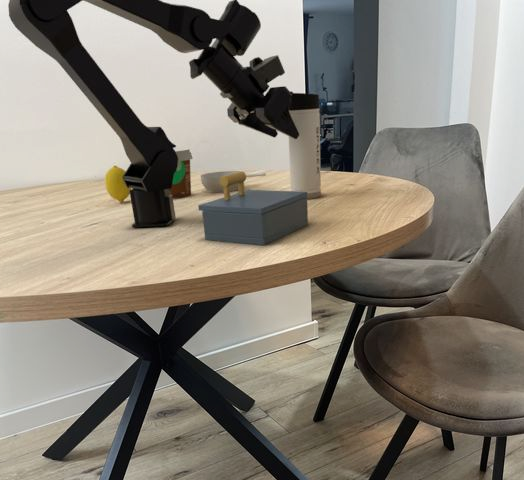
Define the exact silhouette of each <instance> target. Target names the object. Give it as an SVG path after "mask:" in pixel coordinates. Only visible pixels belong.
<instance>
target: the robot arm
mask: <svg viewBox="0 0 524 480" xmlns="http://www.w3.org/2000/svg"><path fill="white" fill-rule="evenodd" d="M81 2H86V3H88V4H91V5H93V6H95V7H97V8H100V9H101V10H104V11H107V12H108V13H111V14H113V15H116V16H118V17H120V18H122V19H125V20H128V21H129V22H132V23H134V24H136V25H139V26H141V27H143V28H145V29H148V30H149V31H151V32H153V33H155V34H156V35H157V36H158V38H160V39H161V40H162V42H164V43H165V44H166V45H167V46H169V47H171V48H172V49H174V50H175V51H177V52H179V53H180V54H181V53H182V54H190V53H194V52H198V51H201V50H202V51H201V52H200V54H199V55H198V57H197V58H193V59H191V60H189V62H188V64H189V69H190V70H189V74H190V75H189V76H190V79H192V80H195V79H196V78H198V77H200V76H202V75H204V76H205V77H206V78H207V79H208V80H209V81H210V82H211V83H212V84H213V85H214V86H215V87H216V88H217V89H218V90H219V91H220V93H219V95H220V97H222V98H223V99H228V100H229V101H230V102H231V103H230V104H229V106H228V108H227V110H226V111H227V117H228V118H229V119H230V120H231V121H232V122H233V123H235V124H238V125H240V126H243V127H245V128H248V129H251V130H254V131H256V132H259V133H261V134H264V135H266V136H269V137H271V138H275V139H276V137H277V136H278V134H279V132H280V133H281V134H283V135H286V136H288V138H289V137H292V138H294V139H297V138H298V136H299V132H298V130H297V128H296V126H295V124H294V122H293V120H292V117H291V115H290V112H289V104H290V102H291V97H292V93H291V91H290V90H289V89H288V88H287V86H274V87H273V86H272V87H270V85H269V83H270V82H272V81H273V80H275V79H277V78H278V77H281V76H283V75H285V73H286V71H285V69H284V66H283V64H282V61H281V59H280V57H279V55H278V54H277V55H272V56H269V57H267V58H264V59H262V58H261V57H260V56H256V57H254V58H253V59H251V60H249V66H243V64H241V62H240V61H239V60H238V59H237V58H236V56H238V57H242V56H244V55H245V54H246V52H247V51H248V49H249V47H250V45H251V44H252V43H253V41H254V40H255V38H256V36H257V35H258V33H259V31H260V30H261V27H262V23H261V21H260V18H259V16H258V15H257V14H256V12H254V11H252V10H251V9H250V8H249V7H247V6H245V5H243V4H240V2H239V1H238V0H230V1H228V3H227V4H226V6H225V8H224V11H223V13H222V14H221V15H220V18H219V19H217V18H212V17H211V16H210V15H209V14H208V12H206V11H205V10H203V9H201V8H197V7H193V6H189V5H185V4H177V3H169V2H165V1H162V0H9V1H8V6H7V7H8V17H9V19H10V21H11V22H12V23H11V24H13V26H14V27H15V29H17V30H18V32H20V34H22V35H23V36H24V37H25V38H26V39H27V40H28V41H30V43H32V44H33V45H34V46H35V47H36V48H38V49H40V51H42V52H43V53H45V54H47V55H48V56H49V57H51V58H52V59H53V60H54V61H56V62H57V63H58V64H59V66H60V67H61V68H62V69H63V71H64V72H65V73H66V74H67V76H68V77H69V78H70V79H71V80H72V82H74V84H75V86H77V88H78V89H79V90H80V91H81V92H82V93H83V95H84V96H85V97H86V99H87V100H88V101H89V102H90V104H92V106H93V107H94V108H95V109H96V111H97V112H98V113H99V114H100V116H101V117H102V118H103V119H104V120H105V122H106V123H107V124H108V125H109V126H110V128H111V129H112V130H113V131H114V132H115V134H116V135H117V136H118V137H119V140H120V141H121V144H122V147H123V151H124V153H125V155H126V157H127V159H128V160H129V162H130V164H129V166H128V167H127V168H126V170H125V171H126V172H125V173H124V175H123V176H122V179H123V181H124V183H125V185H126V187H127V188H131V190H129V192H130V194H129V197H130V203H131V208H132V214H133V220H134V222H133V223H132V224H131V228H150V227H151V228H152V227H154V228H155V227H167V226H169V225H170V224H171V223H172V222H173V221H175V220H176V211H175V204H174V199H173V196H172V195H171V194H170V195H169V189H170V188H172V183H173V177H174V173H175V172H176V170H177V166H178V155H177V153H176V152H175V151H176V150H175V149H174V148H176V147H177V145H176V144H175V143H173V142H172V141H171V140H170V139H169V138H168V136H167V134H166V132H165V131H164V129H163V128H162V127H161V126H147V125H145V124H144V123H143V121H142V120H141V119H140V118H139V117H138V115H137V114H136V113H135V111H134V110H133V108H131V106H130V105H129V104H128V102H127V101H126V100H125V98H124V97H123V95H122V94H121V93H120V92H119V91H118V89H117V88H116V87H115V85H114V84H113V83H112V81H111V80H110V79H109V78H108V76H107V75H106V73H104V71H103V70H102V69H101V67H100V65H98V63H97V62H96V60H95V59H94V58H93V57H92V55H91V54H90V53H89V51H88V50H87V49H86V47H84V45H83V43H82V42H81V40H80V38H79V35H78V32H77V29H76V26H75V24H74V21H73V19H72V16H71V15H70V13H69V12H68V11H69V9H72V8H73V7H75V6H76V5H78V4H80V3H81ZM213 40H214V42H213ZM212 42H213V43H212ZM265 92H266V93H265Z"/></svg>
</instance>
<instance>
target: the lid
mask: <svg viewBox="0 0 524 480" xmlns="http://www.w3.org/2000/svg"><path fill="white" fill-rule="evenodd" d="M244 172H245V171H243V172H237V173H233V174H229V175H226V176H222V177H221V178H220V184H221V185H222V186H223V188H224V192H223V197H220V198H217V199H214V200H211V201H207V202H204V203H200V204H198V207H197V209H198V211H201V212H202V211H217V212H234V213H250V214H263V213H266V212H269V211H271V210H274V209H276V208H279V207H282V206H284V205H287V204H289V203H292V202H295V201H297V200H300V199H302V198H305V197H307V192H300V191H291V190H270V189H269V190H268V189H267V190H263V189H246V190H245V181H246V180H247V177H246V174H247V173H246V172H245V173H244ZM237 183H238V188H239V189H238V192H236V193H234V194H231V191H230V189H229V186H230V185H234V184H237Z"/></svg>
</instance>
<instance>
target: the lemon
mask: <svg viewBox="0 0 524 480" xmlns="http://www.w3.org/2000/svg"><path fill="white" fill-rule="evenodd" d="M125 172H126V170H125V169H123V168H121V167H119V166H118V165H113V166H112V167H111V168H109V169H108V170H107V171H106V174H105V177H104V178H105V179H104V184H105V190H106V192H107V193H108V195H109V196H110V197H111V198H112V199H114V200H117V201H118V202H119V203H123V202H124V201H125V200H126V199H127V198H129V197H130V192H129V190H131V189H132V188H127V187H126V185H125V183H124V181H123V179H122V176H123V175H124V173H125Z"/></svg>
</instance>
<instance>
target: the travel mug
mask: <svg viewBox="0 0 524 480" xmlns="http://www.w3.org/2000/svg"><path fill="white" fill-rule="evenodd" d="M290 92H291V93H292V97H291V102H290V104H289V112H290V115H291V117H292V120H293V122H294V124H295V126H296V128H297V130H298V132H299V136H298V138H297V139H294V138H292V137H289V136H288V153H289V154H288V155H289V157H288V158H289V177H290V178H289V179H290V191H300V192H307V200H310V199H311V200H312V199H317V198H320V197H321V195H322V188H321V186H322V184H321V183H322V180H321V178H322V176H321V175H322V173H321V121H320V119H321V117H320V114H321V113H320V111H321V109H320V105H319V103H320V95H319V94H316V93H304V92H293V91H290Z"/></svg>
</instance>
